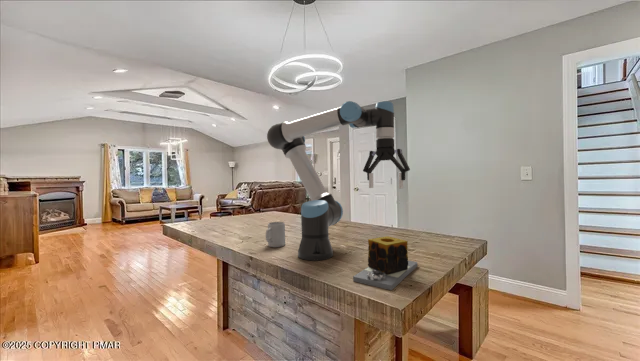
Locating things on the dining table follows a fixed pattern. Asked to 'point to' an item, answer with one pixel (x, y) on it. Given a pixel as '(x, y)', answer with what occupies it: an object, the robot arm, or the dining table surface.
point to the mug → (275, 234)
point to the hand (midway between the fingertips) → (385, 188)
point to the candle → (388, 254)
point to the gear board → (383, 277)
